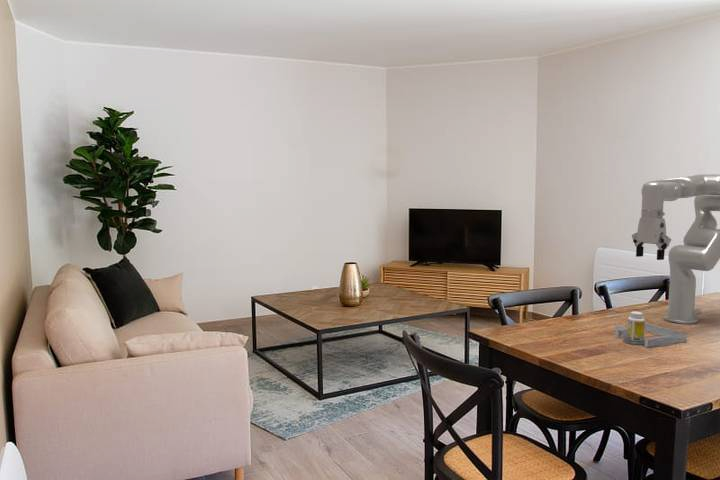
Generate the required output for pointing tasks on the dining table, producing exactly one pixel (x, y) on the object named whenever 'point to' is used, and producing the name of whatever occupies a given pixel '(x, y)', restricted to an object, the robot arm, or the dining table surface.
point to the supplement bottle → (636, 327)
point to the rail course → (665, 339)
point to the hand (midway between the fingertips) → (649, 258)
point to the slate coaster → (633, 342)
